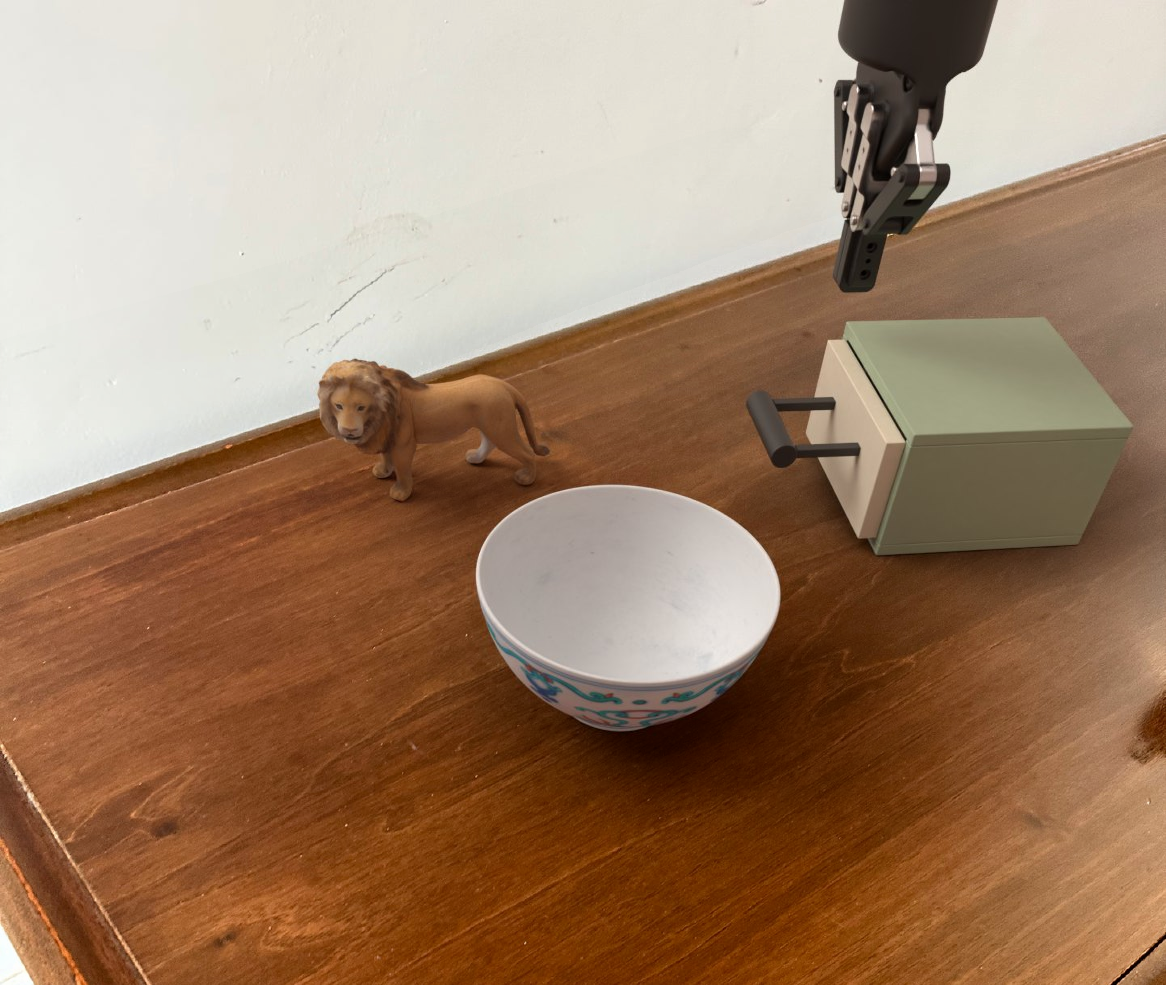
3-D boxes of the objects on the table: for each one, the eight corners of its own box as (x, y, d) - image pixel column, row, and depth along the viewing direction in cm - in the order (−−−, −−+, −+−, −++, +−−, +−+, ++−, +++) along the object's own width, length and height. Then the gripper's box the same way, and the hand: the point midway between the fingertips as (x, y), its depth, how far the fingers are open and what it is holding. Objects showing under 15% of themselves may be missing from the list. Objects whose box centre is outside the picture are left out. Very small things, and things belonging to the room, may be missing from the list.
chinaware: (719, 826, 58) (746, 717, 53) (433, 746, 61) (429, 633, 55) (776, 633, 68) (805, 523, 62) (528, 570, 70) (533, 458, 64)
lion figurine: (342, 528, 72) (328, 394, 65) (316, 478, 75) (300, 345, 68) (564, 480, 76) (573, 350, 70) (532, 435, 79) (537, 306, 73)
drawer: (770, 543, 72) (792, 446, 67) (724, 436, 79) (742, 341, 74) (1046, 529, 75) (1088, 435, 70) (978, 427, 82) (1011, 335, 77)
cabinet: (875, 556, 73) (914, 434, 67) (816, 439, 81) (846, 320, 75) (1078, 545, 76) (1134, 426, 69) (1001, 432, 84) (1045, 316, 77)
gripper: (820, -94, 62) (763, 236, 75) (904, -8, 54) (823, 346, 67) (956, -91, 63) (876, 234, 76) (1059, -7, 55) (949, 342, 68)
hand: (852, 286), depth 72 cm, fingers closed
